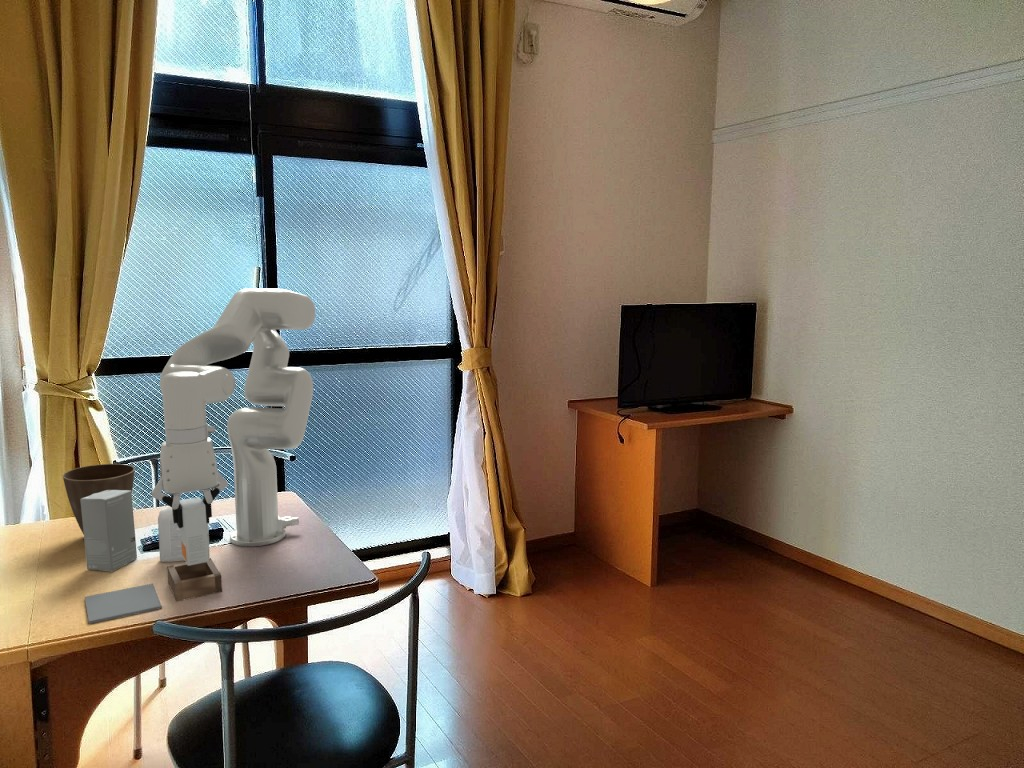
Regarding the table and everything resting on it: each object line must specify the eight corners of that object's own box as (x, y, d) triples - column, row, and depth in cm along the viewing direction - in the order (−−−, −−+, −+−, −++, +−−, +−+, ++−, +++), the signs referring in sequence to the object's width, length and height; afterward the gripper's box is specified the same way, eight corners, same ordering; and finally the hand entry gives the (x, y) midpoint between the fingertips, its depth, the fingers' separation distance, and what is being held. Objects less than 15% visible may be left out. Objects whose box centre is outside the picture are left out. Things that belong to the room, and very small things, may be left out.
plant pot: (136, 522, 187) (132, 460, 185) (141, 540, 175) (137, 474, 172) (67, 532, 180) (62, 468, 177) (68, 552, 167) (62, 483, 165)
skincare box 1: (112, 573, 156) (106, 500, 154) (82, 570, 157) (77, 498, 155) (139, 558, 164) (135, 489, 162) (111, 555, 165) (106, 486, 163)
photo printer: (211, 553, 167) (208, 500, 165) (208, 560, 163) (205, 506, 161) (162, 556, 165) (159, 503, 163) (158, 564, 161) (154, 509, 159)
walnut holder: (211, 573, 156) (210, 557, 155) (222, 591, 147) (221, 575, 147) (168, 582, 151) (167, 566, 151) (176, 601, 143) (175, 584, 142)
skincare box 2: (181, 556, 151) (177, 499, 149) (203, 552, 153) (200, 496, 151) (186, 566, 146) (183, 508, 144) (209, 562, 148) (206, 504, 146)
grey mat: (153, 585, 150) (153, 583, 150) (161, 608, 140) (161, 605, 140) (84, 599, 143) (84, 596, 143) (89, 623, 133) (88, 621, 133)
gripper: (227, 425, 152) (232, 510, 156) (136, 436, 143) (144, 525, 147) (235, 433, 146) (241, 521, 149) (141, 444, 137) (149, 538, 141)
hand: (193, 522), depth 148 cm, fingers closed on skincare box 2, 4 cm apart
